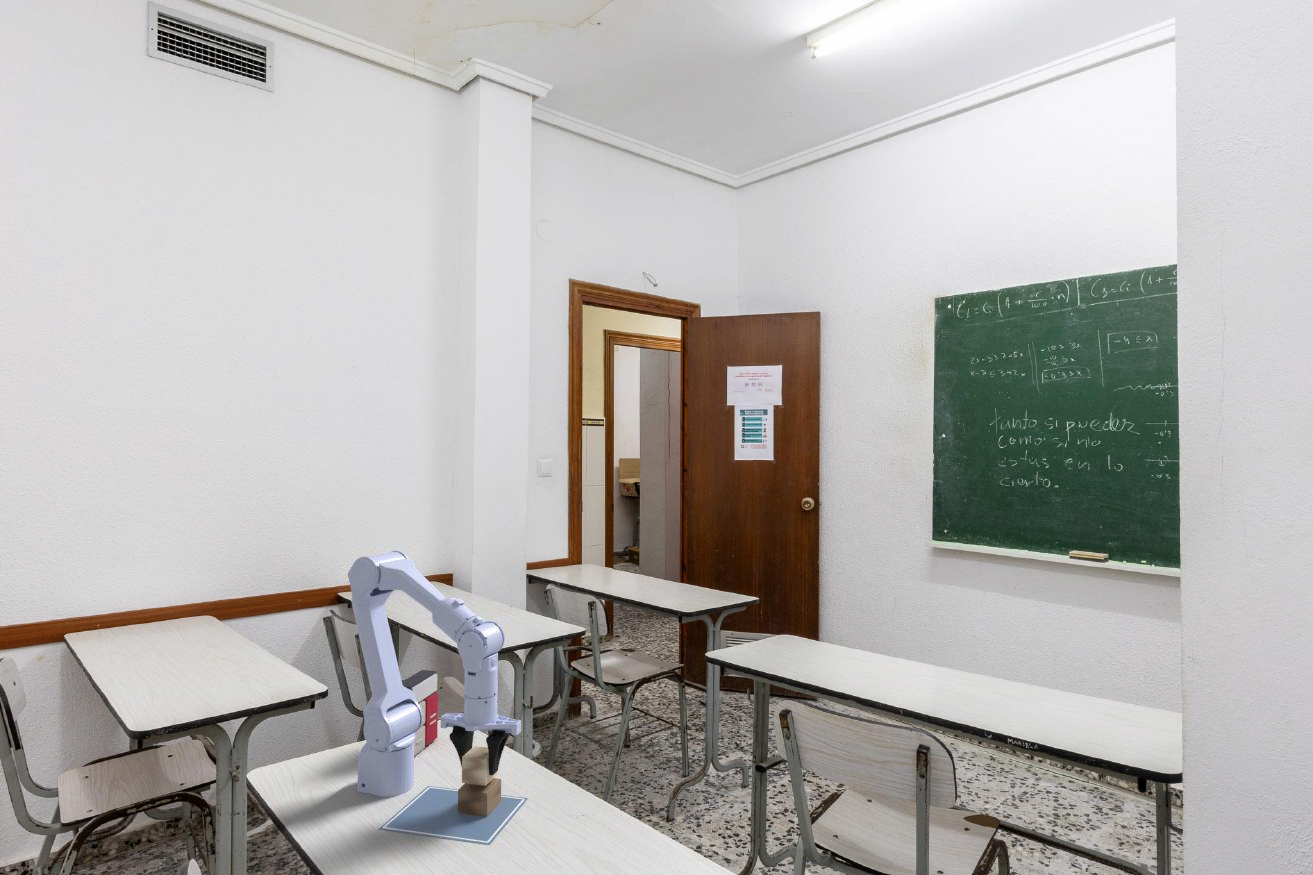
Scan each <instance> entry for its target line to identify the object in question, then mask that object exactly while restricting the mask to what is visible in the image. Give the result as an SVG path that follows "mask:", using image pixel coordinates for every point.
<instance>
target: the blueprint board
mask: <svg viewBox="0 0 1313 875" xmlns="http://www.w3.org/2000/svg"><path fill="white" fill-rule="evenodd" d="M528 800H529V798H528V797H522V796H512V795H506V794H501V802H500V803H499V804H498V806H497V807H496V808H495V809H494V810H493V811H492V812H491V813H490V814H489V816H488V817H483V816H475V815H468V814H460V813H458V789H457V788H456V789H455V788H447V787H441V786H432V785H427V786H426V787H425V788H424V789H423V790H421V791H420V792H419V793H417V795H416V796H415V797H414V798H412V799H411V800H410V801H409V802H408V803H406V805H404V806H403V807H402V808H401V809H400V810H398V811H397V812H396V813H395V814H394V815H392V816H391V817H390V818H389V819H388V820H386V822H384V823H383V824H382V825H381V826H380V827H379V828H377V830H379V831H380V830H381V831H386V832H394V833H401V834H408V835H414V836H422V837H427V838H428V837H430V838H436V839H444V840H449V841H450V840H452V841H458V842H464V843H472V844H479V845H487V846H490V845H491V844H492V843H493V842H494V840H495V839H496V838H497V837H498V836H499V835H500V833H501V832H502V831H503V830H504V829H505V827H506V826H507V825H508V824H509V822H510V821H512V819H513V818H514V816H515V815H516V814H517V813H518V812H519V810H521V808H522V807H523V806H524V805H525V803H526V802H527V801H528Z"/></svg>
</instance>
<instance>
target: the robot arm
mask: <svg viewBox="0 0 1313 875" xmlns="http://www.w3.org/2000/svg"><path fill="white" fill-rule="evenodd" d="M347 576H348V578H347V579H348V581H349V585H350V591H351V606H352V611H353V616H354V621H355V625H356V630H357V634H358V637H359V641H360V642H359V643H360V647H361V652H362V655H363V659H364V660H363V661H364V665H365V669H366V674H367V678H368V682H369V687H370V691H371V697H370V699H369V700H368V702H367V703H366V706H365V707H364V709H363V711H362V714H363V718H364V724H363V737H364V739H365V743H364V745H363V746H362V747H361V749H360V752H359V754H358V759H357V792H358V793H364V794H371V795H374V796H377V797H381V798H391V797H393V798H394V797H397V796H401V795H404V794H406V793H407V792H409V791H411V790H412V789H413V788H414V783H415V781H414V780H415V756H414V739H415V738H416V737H417V731H418V730H419V729H420V728H421V726H422V724H423V712H422V709H421V707H420V706H419V704H418V703H417V701H416V699H415V695H414V692H413V691H411V690H410V689H408V688H406V687H404V686H403V685H402V681H403V680H402V676H401V673H400V669H399V663H398V660H397V656H396V649H395V646H394V643H393V638H392V633H391V628H390V625H389V620H388V616H387V611H386V607H385V604H386V602H387V601H388V599H389V598H390V596H391V595H392V594H393V592H395V590H397V591H402V592H403V593H404V594H406V595H407V596H408V597H410V598H411V599H413V600H414V601H415V602H417V603H418V604H420V605H421V606H422V607H424V608H425V610H428V611H429V612H430V613H431V616H432V618H431V620H432V624H434V625H435V626H436V627H437V628H438V629H440V630H441V631H442V632H443V633H444V634H445V635H446V636H448V637H449V638H450V639H451V640H452V641H453V642H454V643H456V646H457V647H456V648H457V652H458V654H459V656H460V658H461V659H462V660H461V661H462V668H463V669H464V679H463V680H464V682H463V683H464V687H463V688H464V689H463V690H464V692H463V694H464V696H463V712H460V713H458V712H457V713H456V712H455V713H450V712H447V713H445V714H442V715H441V716H440V728H441V729H447V728H452V732H450V734H449V740H450V742H451V743H452V744H453V746H454V748H455V750H456V753H457V756H458V758H459V761H460V765H461V767H462V756H463V755H465V754H466V753H467V752H468V751H469V750H471V749H472V748H473V743H474V736H475V735H474V734H475V732H476V731H477V732H478V731H483V732H484V731H486V732H491V733H490V734H489V735H488V736H486V739H485V741H486V746H487V748H488V752H489V775H494V774H495V773H496V772H497V773H498V771H499V766H500V762H501V757H502V755H503V751H504V748H505V746H506V744H507V741H508V739H509V737H510V735H511V736H517V735H519V734H520V733H521V731H522V720H520V719H513V718H510V717H507V716H503V715H500V714H498V697H499V696H498V695H499V694H498V691H499V690H498V689H499V688H498V685H499V684H498V683H499V682H498V678H499V676H498V674H499V672H498V670H499V668H498V667H499V665H498V664H499V653H498V652H500V651H502V648H504V644H505V640H506V639H505V634H504V630H503V629H502V627H501V626H500V625H499V624H498V622H497V621H495V620H485V619H484V618H482V616H480V615H477V614H475V612H473V611H472V610H471V609H470V608H469V607H468V606H466V605H465V604H464V603H465V601H464V600H463V599H462V598H457V597H454V596H453V597H448V598H447V597H445V596H444V595H443V594H442V593H441V592H440V591H439V590H438V588H436V587H435V586H434V585H433V584H432V583H431V582H430V581H429V580H428V579H427V578H426V577H425V576H424V574H422V573H421V572H420V570H418V569H417V568H416V565H415V561H414V559H412V558H410V557H408V555H407V553H405V552H403V551H401V550H392V551H390V552H385V553H379V554H373V555H369V556H367V555H366V556H360V557H358V558H357V559H356V560H355V561H354V562H353V564H352V566H351V567H350V569H349V570H348V572H347Z"/></svg>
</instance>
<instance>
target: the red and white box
mask: <svg viewBox="0 0 1313 875" xmlns="http://www.w3.org/2000/svg"><path fill="white" fill-rule="evenodd" d="M402 685H403V686H404V687H406V688H408V689H410V690H411V691H413V692H414V695H415V699H416V701H417V703H418V704H419V706H420V707H421V709H422V712H423V724H422V726H421V728H420V729H419V730H418V731H417V737H416V738H415V739H414V757H415V756H417V754H419V753H420V752H421V751H423V750H424V749H425V748H426V747H428V746H429V745H430V744H431V743H433V742H434V741H435V740H437V739H438V730H439V729H438V728H439V726H438V725H439V724H438V723H439V722H438V718H439V717H438V716H439V712H438V710H439V709H438V708H439V693H438V691H437V690H438V672H437V670H428V669H427V670H425V669H421V670H420V671H417V672H416V673H414V674H412V675H411V676H409V677H408V678H405V679H404V680H402Z"/></svg>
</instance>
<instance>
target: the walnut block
mask: <svg viewBox="0 0 1313 875" xmlns="http://www.w3.org/2000/svg"><path fill="white" fill-rule="evenodd" d="M457 790H458V813H460V814H468V815H475V816H483V817H488V816H489V814H490V813H491V812H492V811H493V810H494V809H495V808H496V807H497V806H498V804H499V803H500V802H501V795H502V778H497V777H494V778H493V779H492V780H491V781H490V782H489V783H488V784H487V785H486V786H484V785H476V784H468V783H463V785H461V786H460V788H458V789H457Z"/></svg>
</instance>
